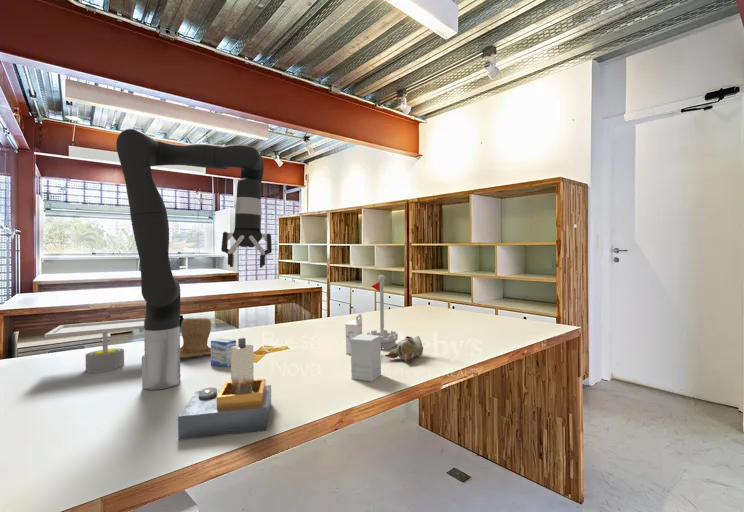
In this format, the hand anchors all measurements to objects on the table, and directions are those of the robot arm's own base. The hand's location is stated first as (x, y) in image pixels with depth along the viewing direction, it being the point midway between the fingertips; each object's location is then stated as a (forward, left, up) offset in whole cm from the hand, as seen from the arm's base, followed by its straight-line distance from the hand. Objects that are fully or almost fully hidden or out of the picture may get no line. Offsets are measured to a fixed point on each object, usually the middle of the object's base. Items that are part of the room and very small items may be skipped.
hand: (246, 267), depth 108 cm
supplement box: (+36, -3, -35) cm, 51 cm away
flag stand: (+50, +33, -35) cm, 69 cm away
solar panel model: (-51, +28, -35) cm, 68 cm away
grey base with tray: (-1, -25, -35) cm, 43 cm away
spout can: (+2, -25, -30) cm, 39 cm away
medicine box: (-11, +22, -35) cm, 43 cm away
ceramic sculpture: (+54, +12, -36) cm, 66 cm away
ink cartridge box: (+37, +27, -35) cm, 58 cm away
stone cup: (-25, +36, -35) cm, 56 cm away
